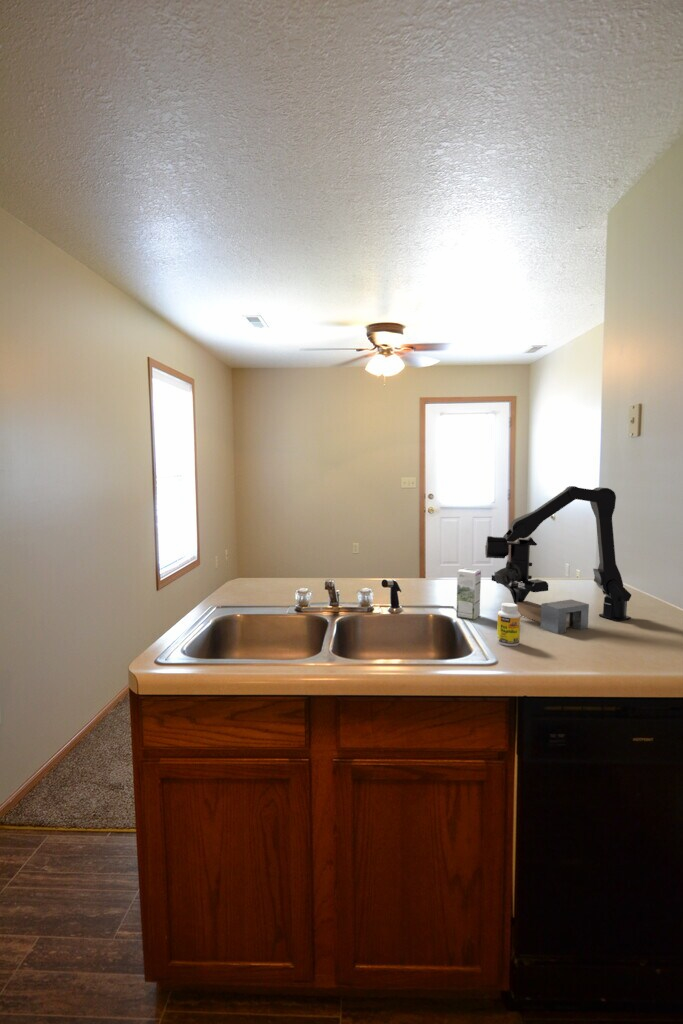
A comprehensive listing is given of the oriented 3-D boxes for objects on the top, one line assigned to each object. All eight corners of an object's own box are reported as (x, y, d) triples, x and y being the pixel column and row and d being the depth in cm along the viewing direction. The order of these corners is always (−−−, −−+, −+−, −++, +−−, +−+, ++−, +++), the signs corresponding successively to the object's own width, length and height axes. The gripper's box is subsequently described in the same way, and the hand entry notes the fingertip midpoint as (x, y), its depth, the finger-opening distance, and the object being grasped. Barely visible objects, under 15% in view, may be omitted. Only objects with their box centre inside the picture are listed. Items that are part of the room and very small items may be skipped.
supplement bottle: (496, 645, 134) (497, 606, 133) (497, 638, 139) (498, 600, 138) (519, 647, 132) (521, 608, 131) (519, 641, 138) (520, 602, 137)
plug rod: (525, 613, 164) (526, 600, 164) (569, 626, 150) (569, 613, 150) (516, 614, 163) (516, 602, 162) (559, 628, 148) (559, 614, 148)
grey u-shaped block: (570, 622, 154) (571, 599, 154) (587, 628, 149) (588, 604, 149) (540, 628, 149) (541, 603, 149) (557, 634, 144) (558, 608, 143)
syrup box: (480, 615, 161) (481, 569, 160) (474, 620, 156) (475, 572, 155) (462, 613, 164) (463, 567, 163) (455, 617, 159) (456, 570, 158)
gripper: (479, 556, 168) (477, 603, 170) (522, 566, 152) (520, 619, 153) (505, 553, 173) (504, 600, 175) (550, 563, 157) (548, 614, 158)
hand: (517, 608), depth 165 cm, fingers closed
